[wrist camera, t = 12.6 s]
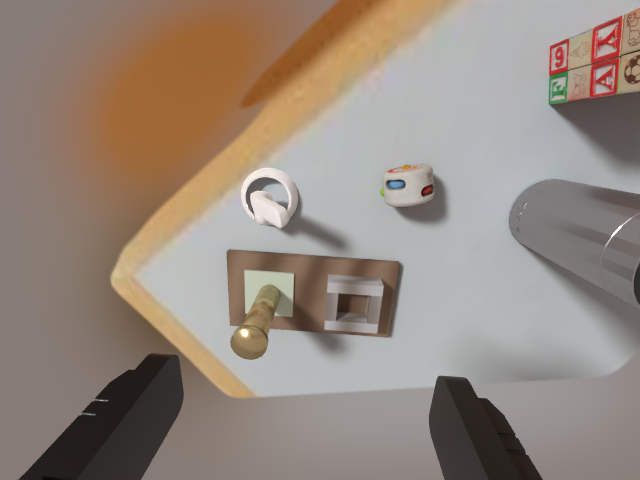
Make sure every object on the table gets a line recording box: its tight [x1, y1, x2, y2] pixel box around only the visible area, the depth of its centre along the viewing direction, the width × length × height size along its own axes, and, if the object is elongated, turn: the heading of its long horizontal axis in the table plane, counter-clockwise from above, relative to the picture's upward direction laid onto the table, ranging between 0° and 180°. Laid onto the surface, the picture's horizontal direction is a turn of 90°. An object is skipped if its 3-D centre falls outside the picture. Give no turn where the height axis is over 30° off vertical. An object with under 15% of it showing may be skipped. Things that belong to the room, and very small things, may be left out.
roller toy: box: [381, 164, 434, 207], centre depth 36 cm, size 4×6×6 cm
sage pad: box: [244, 270, 294, 317], centre depth 43 cm, size 7×7×1 cm
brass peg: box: [231, 285, 281, 360], centre depth 38 cm, size 4×4×11 cm
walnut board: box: [227, 249, 400, 337], centre depth 42 cm, size 24×12×4 cm, turn 87°
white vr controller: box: [241, 168, 298, 228], centre depth 37 cm, size 8×12×7 cm
